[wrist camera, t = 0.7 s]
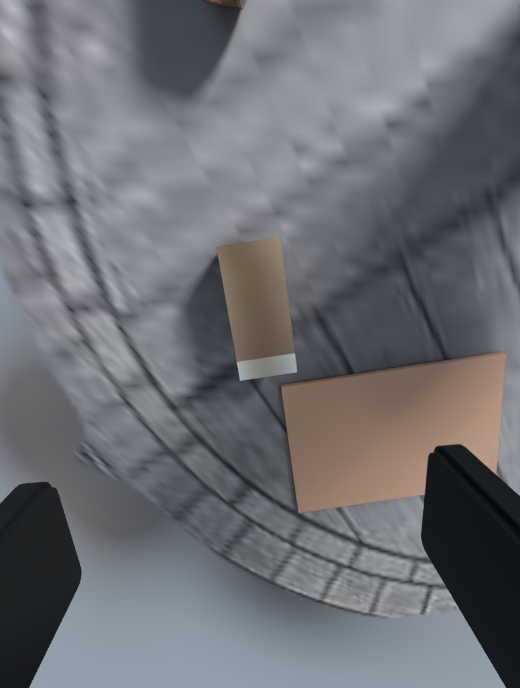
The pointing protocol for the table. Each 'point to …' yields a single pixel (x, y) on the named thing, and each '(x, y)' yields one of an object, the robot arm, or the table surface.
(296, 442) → the mat
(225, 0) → the tin
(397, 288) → the table surface
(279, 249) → the card box
